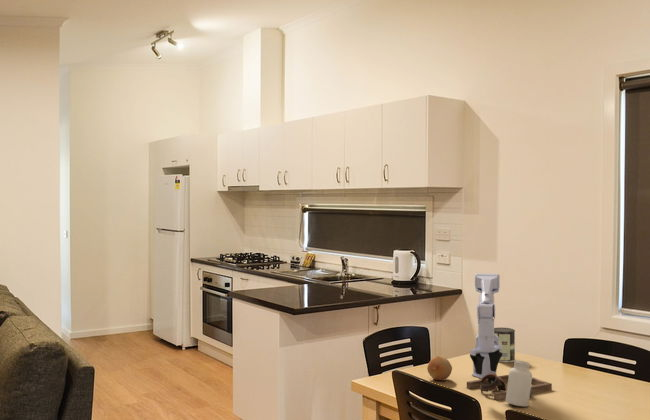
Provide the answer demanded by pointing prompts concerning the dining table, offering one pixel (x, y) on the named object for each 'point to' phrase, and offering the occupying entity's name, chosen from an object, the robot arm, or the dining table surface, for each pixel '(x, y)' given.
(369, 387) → the dining table surface
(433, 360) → the onion
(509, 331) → the coffee can
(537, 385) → the walnut slot beam
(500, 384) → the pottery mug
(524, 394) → the pill bottle
